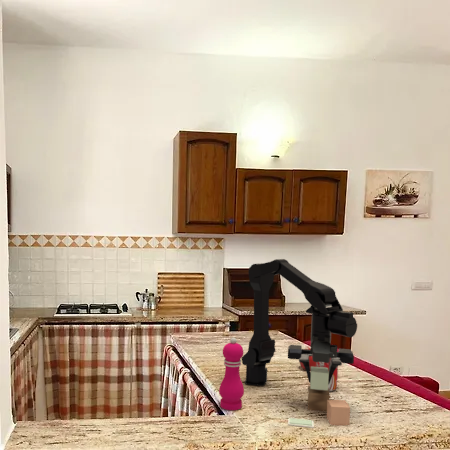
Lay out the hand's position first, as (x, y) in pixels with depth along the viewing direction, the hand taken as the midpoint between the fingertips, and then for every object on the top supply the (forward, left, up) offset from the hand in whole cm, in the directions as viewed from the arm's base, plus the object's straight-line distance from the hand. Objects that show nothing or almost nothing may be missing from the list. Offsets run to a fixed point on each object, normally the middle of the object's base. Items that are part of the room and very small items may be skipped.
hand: (318, 383), depth 142 cm
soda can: (+3, +16, -7) cm, 18 cm away
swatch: (-5, -13, -7) cm, 16 cm away
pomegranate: (-1, +36, -7) cm, 37 cm away
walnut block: (0, 0, -7) cm, 7 cm away
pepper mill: (-25, -6, -7) cm, 27 cm away
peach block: (+5, -9, -7) cm, 13 cm away
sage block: (0, 0, -1) cm, 1 cm away
